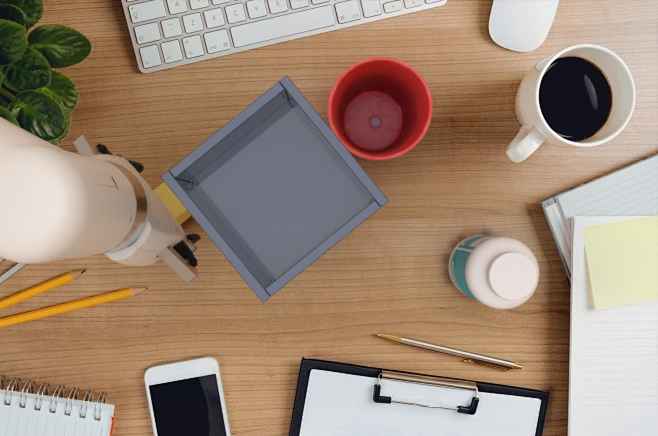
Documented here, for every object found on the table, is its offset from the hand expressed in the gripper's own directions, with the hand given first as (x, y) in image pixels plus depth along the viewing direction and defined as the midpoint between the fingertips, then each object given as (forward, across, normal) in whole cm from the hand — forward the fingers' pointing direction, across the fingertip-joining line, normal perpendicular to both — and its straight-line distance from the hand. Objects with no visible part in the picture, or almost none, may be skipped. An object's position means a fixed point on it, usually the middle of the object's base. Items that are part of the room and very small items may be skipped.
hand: (160, 209), depth 66 cm
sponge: (+7, 0, 0) cm, 7 cm away
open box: (-13, +8, +12) cm, 19 cm away
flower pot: (+7, +7, +25) cm, 27 cm away
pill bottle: (+7, +28, +24) cm, 37 cm away
